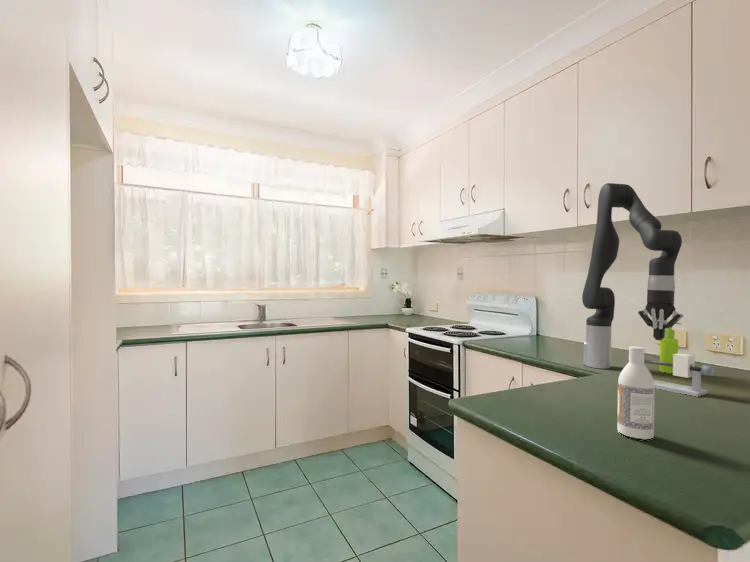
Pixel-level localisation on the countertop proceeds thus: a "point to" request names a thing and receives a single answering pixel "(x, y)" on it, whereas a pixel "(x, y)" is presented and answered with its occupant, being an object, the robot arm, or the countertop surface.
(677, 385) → the rod slider assembly
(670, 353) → the soap dispenser
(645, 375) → the bath foam
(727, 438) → the countertop surface
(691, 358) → the sleeve
